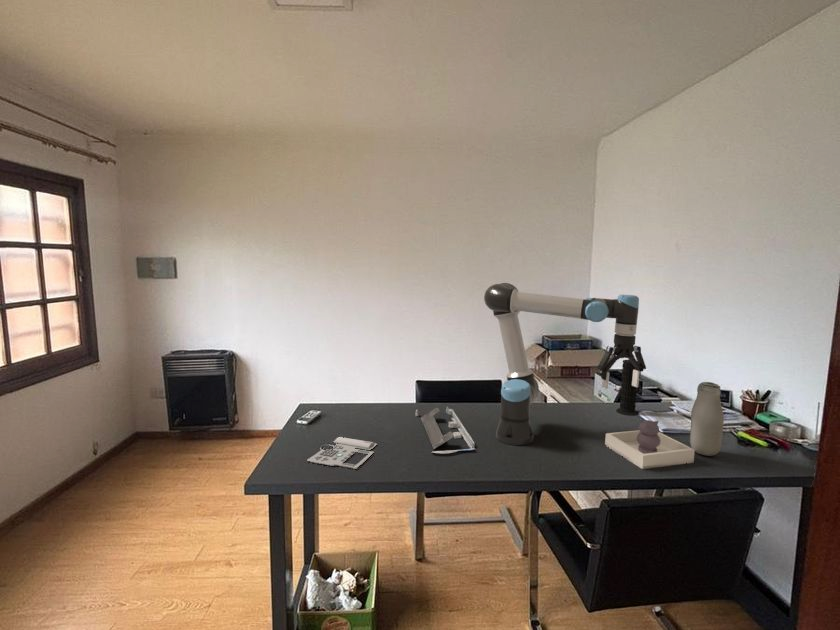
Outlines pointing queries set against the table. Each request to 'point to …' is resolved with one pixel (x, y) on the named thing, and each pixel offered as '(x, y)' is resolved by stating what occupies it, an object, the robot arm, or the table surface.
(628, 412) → the handle grip
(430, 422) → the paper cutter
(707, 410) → the beige milk bottle
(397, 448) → the table surface
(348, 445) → the office telephone
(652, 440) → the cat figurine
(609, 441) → the tray
